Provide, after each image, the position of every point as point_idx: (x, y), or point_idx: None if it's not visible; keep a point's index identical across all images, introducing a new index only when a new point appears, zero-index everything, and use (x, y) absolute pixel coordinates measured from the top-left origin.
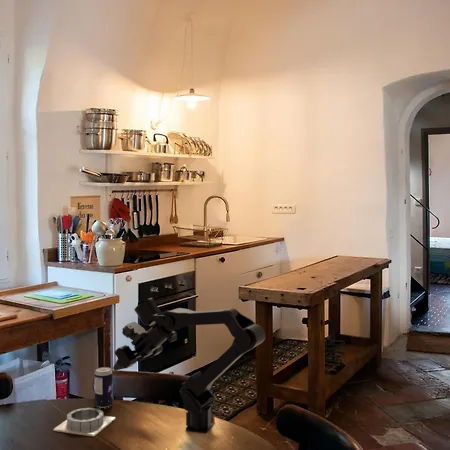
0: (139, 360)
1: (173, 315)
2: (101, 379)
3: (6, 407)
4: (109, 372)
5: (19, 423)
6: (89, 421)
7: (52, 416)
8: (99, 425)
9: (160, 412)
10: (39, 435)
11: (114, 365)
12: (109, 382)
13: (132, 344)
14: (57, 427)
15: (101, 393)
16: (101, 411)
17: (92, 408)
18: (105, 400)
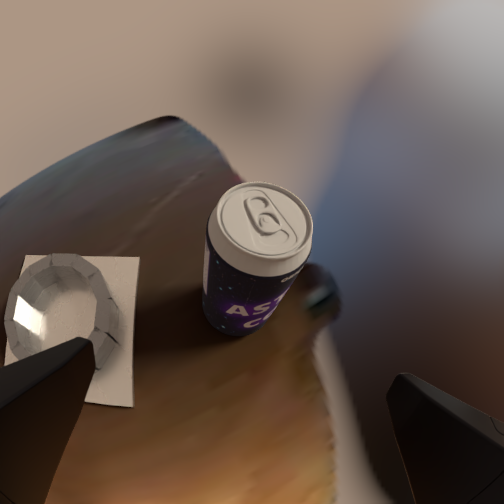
0: (406, 471)
1: None
2: (208, 253)
3: (157, 119)
4: (258, 264)
5: (73, 172)
6: (10, 349)
7: (115, 208)
8: None
9: None
10: (10, 241)
11: (44, 352)
12: (238, 296)
13: None
14: (32, 259)
15: (205, 289)
16: None
17: (106, 310)
18: (211, 316)
